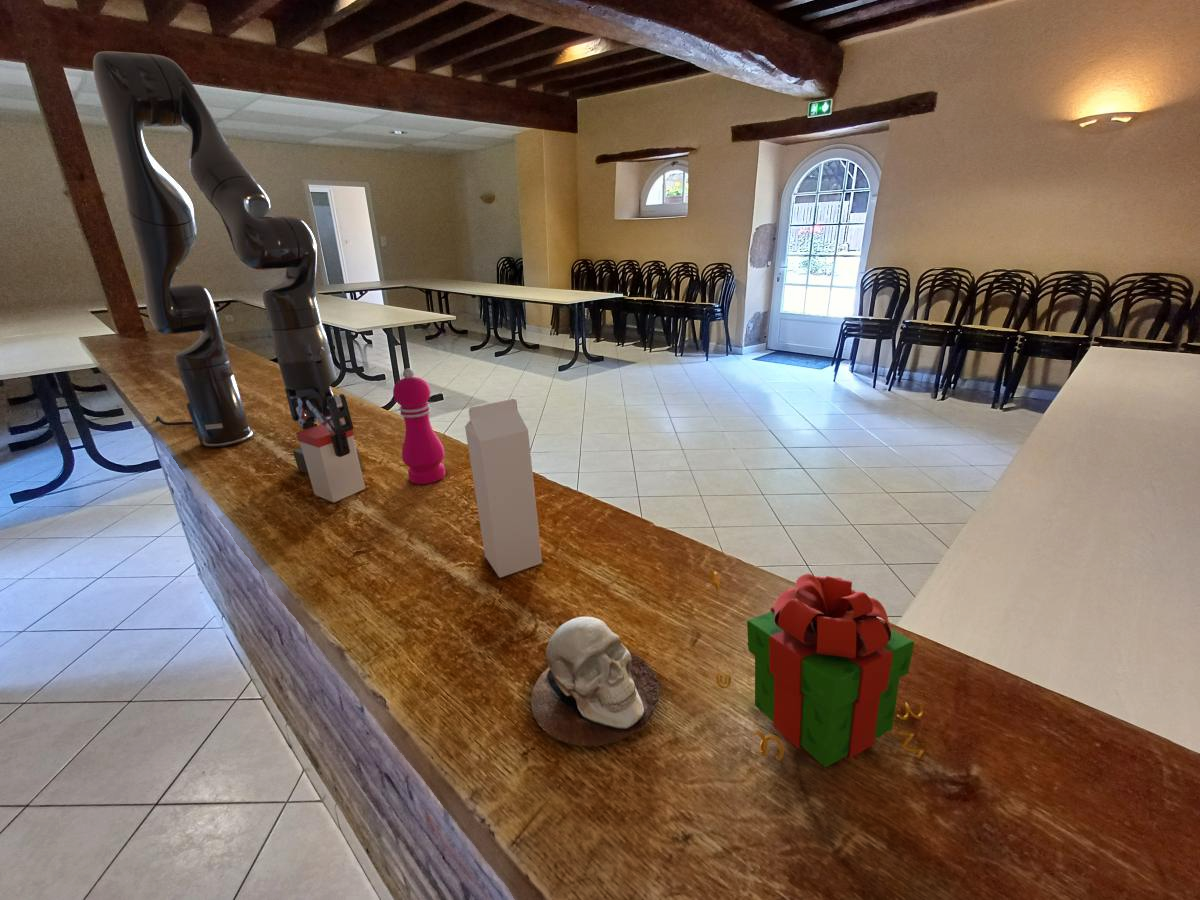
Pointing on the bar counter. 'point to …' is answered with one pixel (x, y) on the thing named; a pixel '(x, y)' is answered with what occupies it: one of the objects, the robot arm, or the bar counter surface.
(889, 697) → the gift wrap
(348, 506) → the bar counter surface
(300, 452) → the block
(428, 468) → the pepper mill
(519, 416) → the milk
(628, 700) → the skull
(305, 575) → the bar counter surface
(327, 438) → the container
